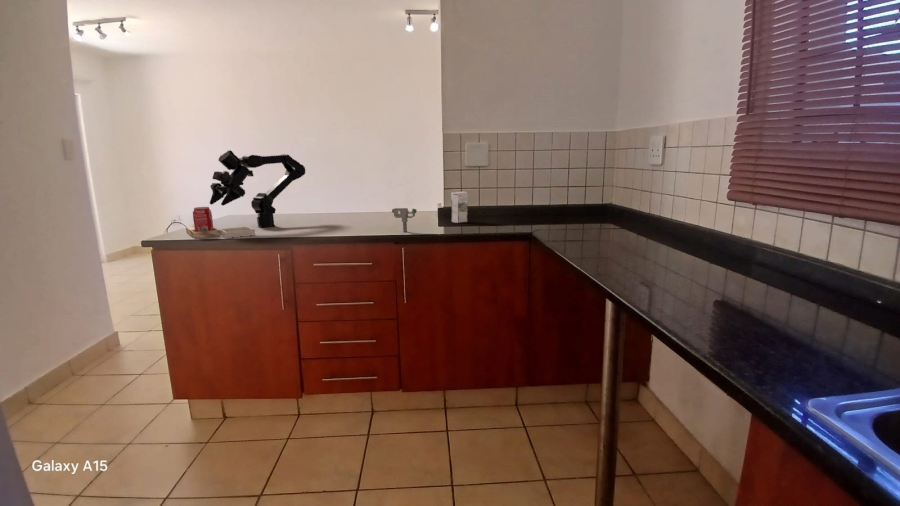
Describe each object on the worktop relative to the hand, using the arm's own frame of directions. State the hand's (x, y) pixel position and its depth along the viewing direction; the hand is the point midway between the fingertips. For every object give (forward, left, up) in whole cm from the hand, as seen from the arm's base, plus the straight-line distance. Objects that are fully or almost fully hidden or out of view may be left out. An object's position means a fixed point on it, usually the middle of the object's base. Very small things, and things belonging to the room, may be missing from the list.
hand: (216, 204), depth 200 cm
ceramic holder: (-5, +10, -13) cm, 17 cm away
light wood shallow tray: (+6, -3, -13) cm, 14 cm away
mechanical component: (-62, +53, -13) cm, 82 cm away
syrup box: (-97, +46, -13) cm, 108 cm away
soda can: (+6, +2, -13) cm, 14 cm away
